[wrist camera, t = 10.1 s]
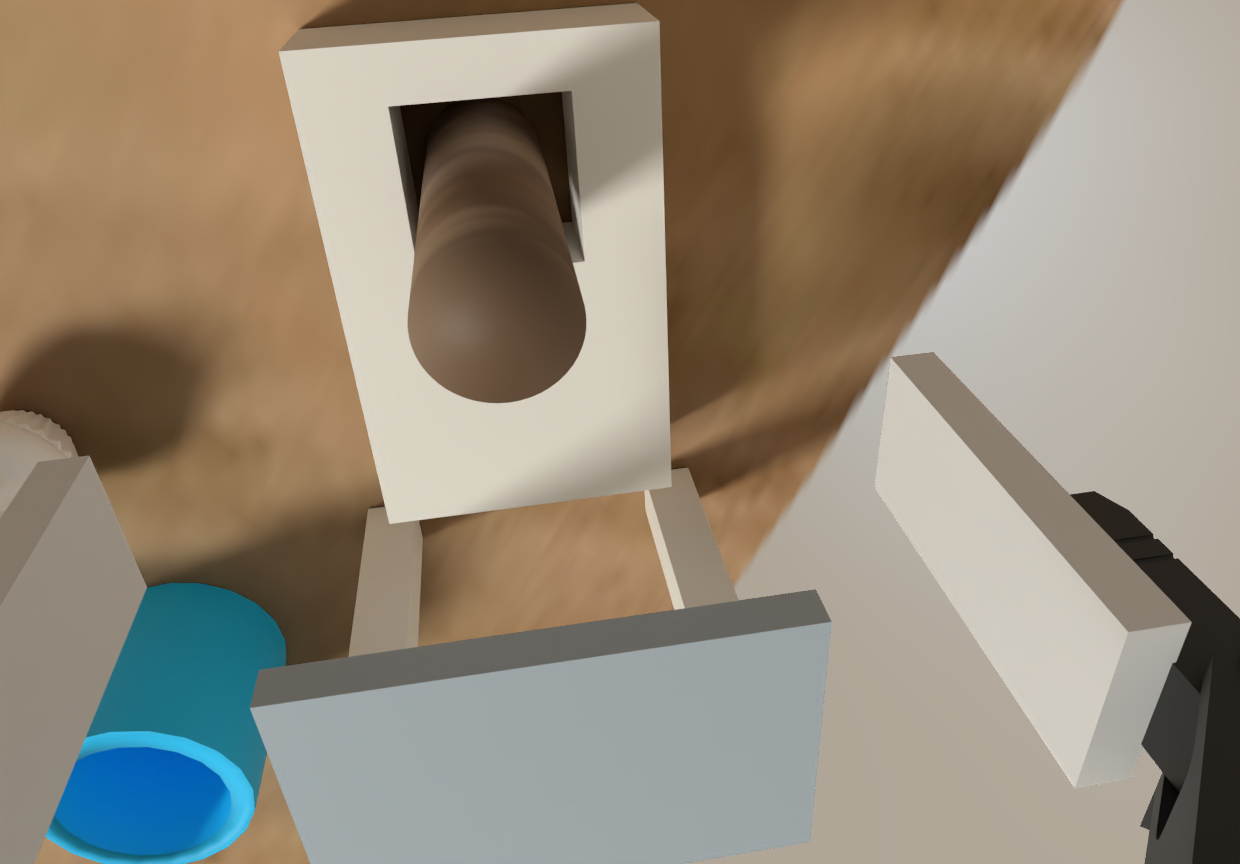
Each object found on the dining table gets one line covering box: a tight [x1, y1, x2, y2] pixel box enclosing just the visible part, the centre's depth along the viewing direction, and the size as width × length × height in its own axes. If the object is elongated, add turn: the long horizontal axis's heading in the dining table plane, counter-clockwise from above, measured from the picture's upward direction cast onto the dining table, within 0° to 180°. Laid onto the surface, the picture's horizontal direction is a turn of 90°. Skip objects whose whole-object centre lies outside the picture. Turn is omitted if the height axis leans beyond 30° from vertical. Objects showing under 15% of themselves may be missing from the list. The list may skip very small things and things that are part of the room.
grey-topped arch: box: [250, 468, 831, 864], centre depth 32 cm, size 9×14×17 cm, turn 93°
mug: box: [46, 583, 286, 864], centre depth 38 cm, size 12×8×8 cm
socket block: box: [279, 3, 672, 524], centre depth 33 cm, size 17×11×4 cm, turn 3°
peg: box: [407, 97, 586, 403], centre depth 27 cm, size 4×4×14 cm
